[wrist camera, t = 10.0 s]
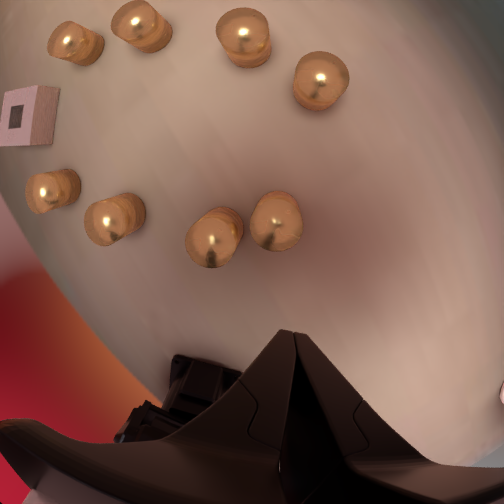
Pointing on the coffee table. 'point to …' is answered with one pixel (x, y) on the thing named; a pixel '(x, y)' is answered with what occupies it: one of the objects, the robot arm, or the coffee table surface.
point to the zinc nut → (28, 116)
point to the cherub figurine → (502, 393)
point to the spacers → (219, 219)
